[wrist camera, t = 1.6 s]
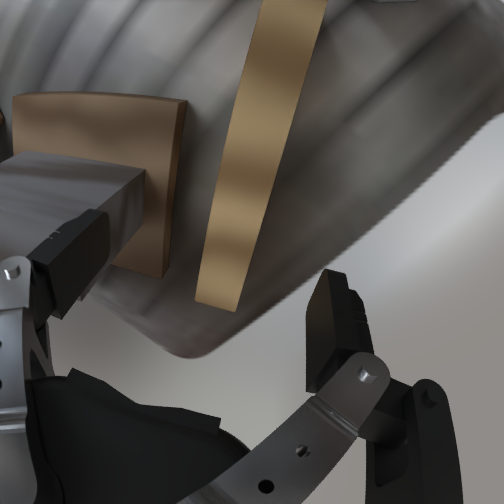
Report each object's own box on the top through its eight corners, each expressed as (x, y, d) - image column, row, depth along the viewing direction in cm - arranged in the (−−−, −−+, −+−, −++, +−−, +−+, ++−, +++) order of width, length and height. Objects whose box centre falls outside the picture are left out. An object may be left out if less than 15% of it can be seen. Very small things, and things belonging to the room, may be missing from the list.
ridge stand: (26, 92, 20) (-69, 127, 10) (187, 100, 21) (98, 131, 11) (35, 228, 29) (-30, 289, 19) (168, 267, 29) (118, 362, 19)
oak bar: (273, 1, 16) (268, -18, 12) (321, 13, 16) (328, -3, 12) (208, 266, 29) (194, 300, 25) (243, 276, 29) (235, 312, 25)
